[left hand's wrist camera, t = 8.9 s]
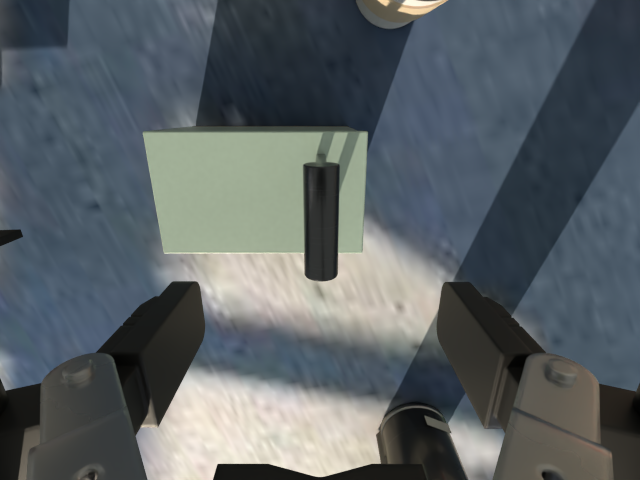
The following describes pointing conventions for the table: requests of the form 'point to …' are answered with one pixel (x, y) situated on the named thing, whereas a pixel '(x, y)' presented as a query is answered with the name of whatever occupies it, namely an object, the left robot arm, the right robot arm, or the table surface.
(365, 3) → the coffee cup
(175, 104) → the table surface
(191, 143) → the lid
